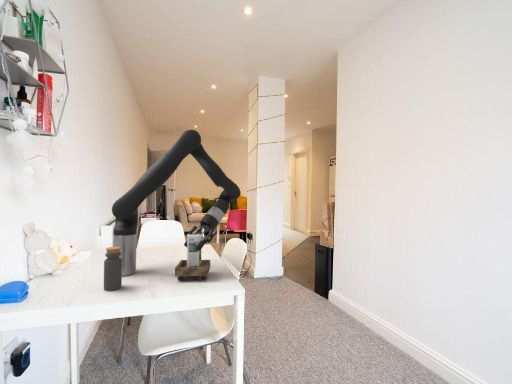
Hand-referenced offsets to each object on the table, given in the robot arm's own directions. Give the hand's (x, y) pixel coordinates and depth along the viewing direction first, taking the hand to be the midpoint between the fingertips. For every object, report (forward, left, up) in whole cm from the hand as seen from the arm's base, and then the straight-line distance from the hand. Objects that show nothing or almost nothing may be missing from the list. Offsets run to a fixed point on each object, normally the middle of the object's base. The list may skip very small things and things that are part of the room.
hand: (191, 247), depth 110 cm
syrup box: (+1, +1, -9) cm, 9 cm away
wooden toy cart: (+1, +1, -13) cm, 13 cm away
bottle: (-27, -11, -13) cm, 32 cm away
